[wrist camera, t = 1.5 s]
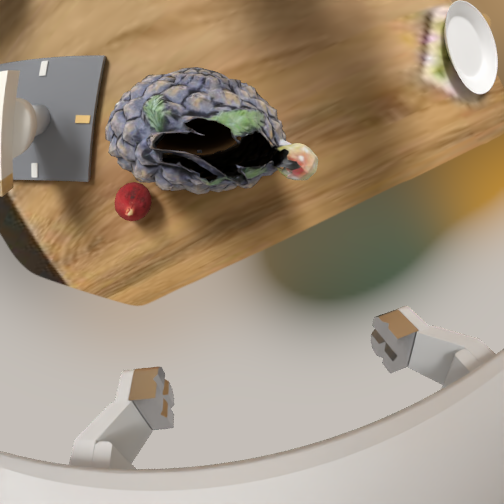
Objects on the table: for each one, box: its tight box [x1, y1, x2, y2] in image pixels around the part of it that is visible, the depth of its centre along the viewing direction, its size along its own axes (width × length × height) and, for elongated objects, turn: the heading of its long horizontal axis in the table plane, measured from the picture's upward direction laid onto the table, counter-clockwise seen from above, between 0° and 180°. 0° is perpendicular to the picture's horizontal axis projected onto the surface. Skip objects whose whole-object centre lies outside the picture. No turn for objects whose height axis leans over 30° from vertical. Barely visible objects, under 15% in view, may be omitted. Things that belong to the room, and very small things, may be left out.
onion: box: [115, 182, 151, 221], centre depth 42 cm, size 6×6×8 cm
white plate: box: [444, 1, 498, 94], centre depth 41 cm, size 25×25×4 cm
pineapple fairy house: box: [105, 67, 318, 194], centre depth 31 cm, size 21×15×25 cm
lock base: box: [0, 56, 106, 182], centre depth 30 cm, size 20×20×10 cm
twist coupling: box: [0, 70, 37, 196], centre depth 23 cm, size 15×8×6 cm, turn 167°
